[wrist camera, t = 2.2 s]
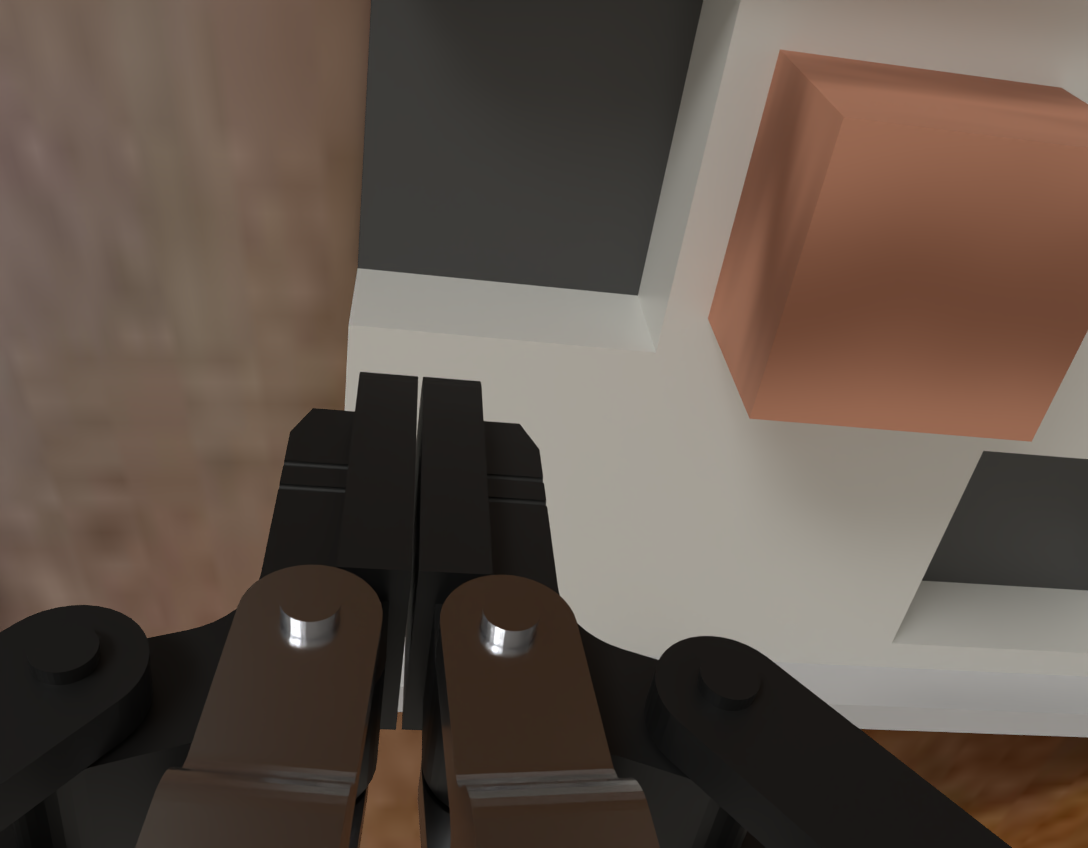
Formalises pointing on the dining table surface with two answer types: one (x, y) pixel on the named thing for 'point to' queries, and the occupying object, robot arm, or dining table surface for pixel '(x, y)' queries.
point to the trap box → (711, 348)
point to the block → (907, 250)
